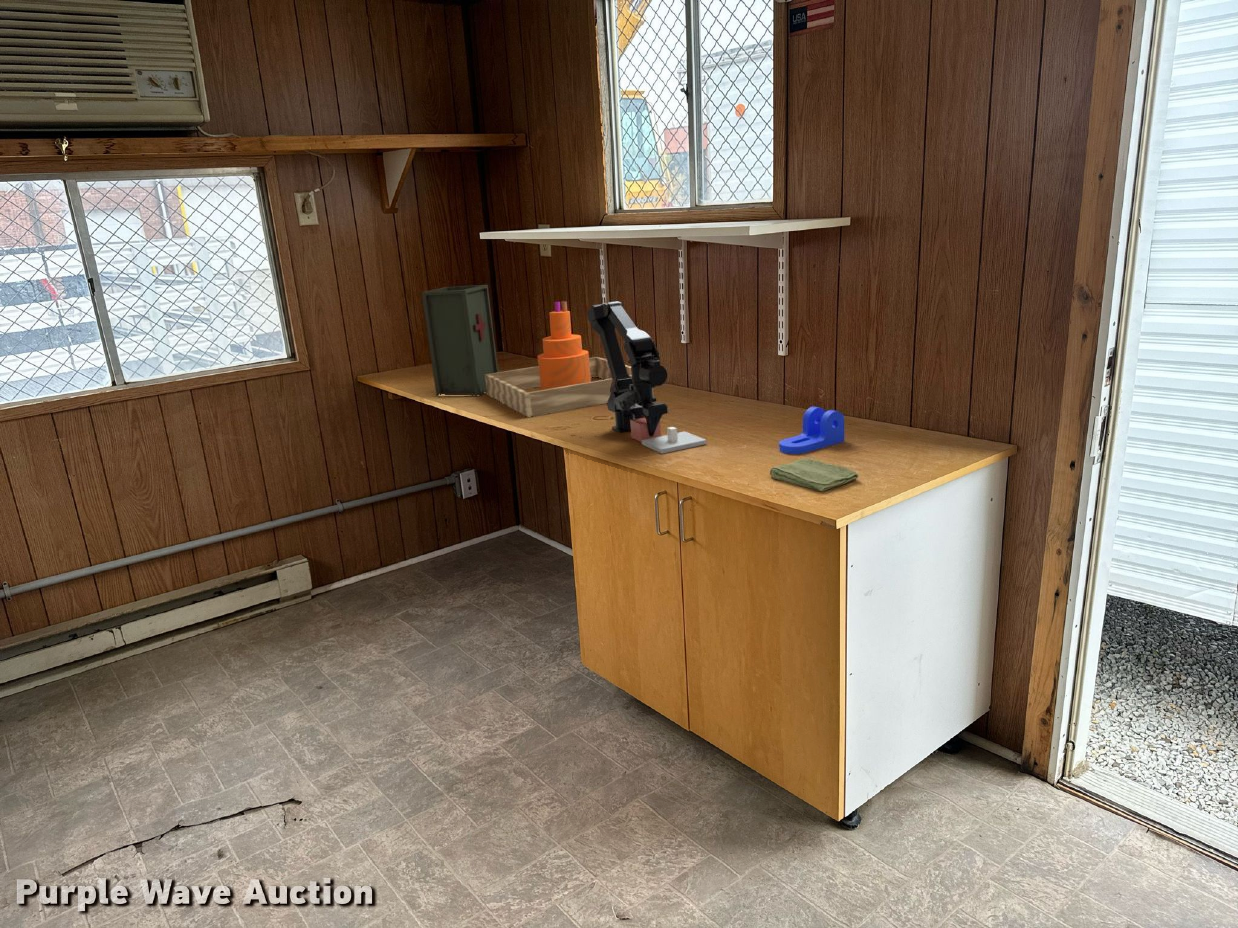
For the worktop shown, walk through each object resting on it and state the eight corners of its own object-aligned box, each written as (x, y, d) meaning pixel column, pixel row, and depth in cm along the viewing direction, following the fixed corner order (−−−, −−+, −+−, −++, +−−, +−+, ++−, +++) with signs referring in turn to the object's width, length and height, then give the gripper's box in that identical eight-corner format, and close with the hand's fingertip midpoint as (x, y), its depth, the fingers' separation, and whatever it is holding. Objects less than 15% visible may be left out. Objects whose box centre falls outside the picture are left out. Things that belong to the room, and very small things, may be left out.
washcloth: (823, 495, 186) (823, 482, 185) (766, 479, 200) (766, 466, 199) (862, 481, 193) (862, 468, 192) (804, 466, 207) (804, 454, 206)
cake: (533, 401, 300) (535, 302, 291) (540, 392, 318) (541, 298, 309) (590, 404, 300) (593, 305, 290) (593, 394, 318) (596, 300, 309)
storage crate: (487, 395, 320) (484, 374, 318) (599, 376, 339) (597, 356, 336) (528, 417, 279) (525, 394, 277) (652, 394, 298) (651, 372, 295)
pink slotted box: (631, 437, 244) (630, 419, 242) (651, 433, 246) (649, 415, 245) (641, 442, 238) (640, 423, 237) (661, 438, 241) (660, 419, 239)
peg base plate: (641, 444, 236) (640, 428, 235) (684, 435, 242) (684, 419, 240) (661, 453, 226) (660, 436, 225) (706, 444, 231) (705, 427, 230)
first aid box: (479, 396, 320) (465, 290, 308) (436, 396, 325) (421, 292, 314) (500, 385, 336) (487, 284, 325) (459, 386, 342) (445, 287, 331)
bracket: (821, 436, 230) (821, 404, 228) (844, 441, 224) (844, 408, 221) (772, 450, 221) (771, 417, 219) (795, 456, 215) (794, 422, 212)
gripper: (602, 380, 242) (607, 432, 247) (631, 390, 226) (635, 445, 231) (637, 374, 247) (640, 425, 251) (667, 383, 230) (670, 438, 235)
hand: (646, 433), depth 242 cm, fingers closed on pink slotted box, 6 cm apart
